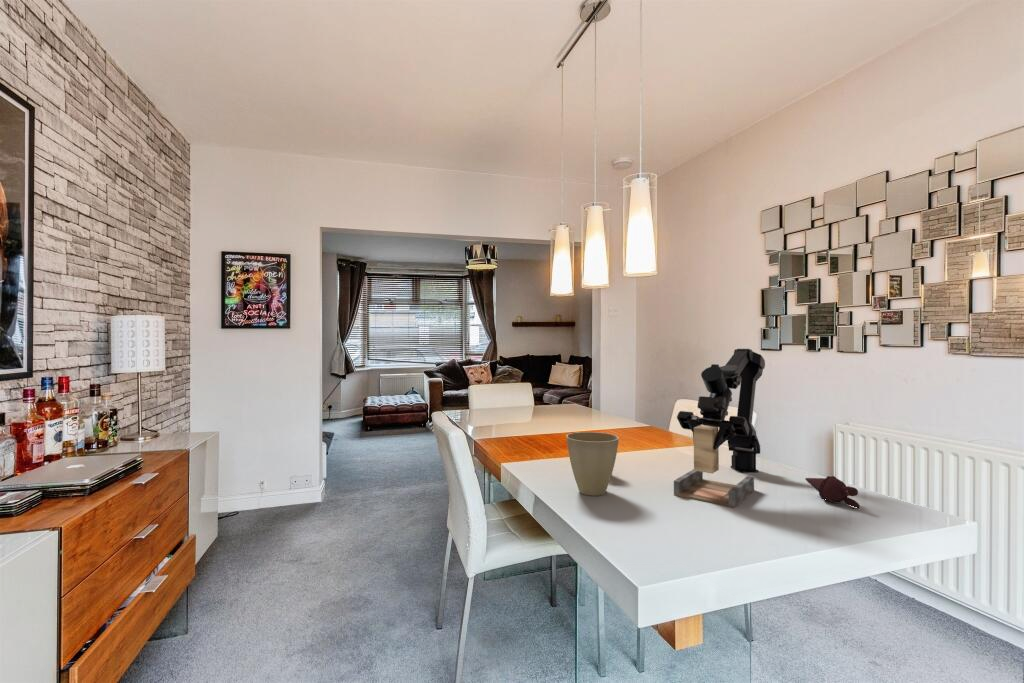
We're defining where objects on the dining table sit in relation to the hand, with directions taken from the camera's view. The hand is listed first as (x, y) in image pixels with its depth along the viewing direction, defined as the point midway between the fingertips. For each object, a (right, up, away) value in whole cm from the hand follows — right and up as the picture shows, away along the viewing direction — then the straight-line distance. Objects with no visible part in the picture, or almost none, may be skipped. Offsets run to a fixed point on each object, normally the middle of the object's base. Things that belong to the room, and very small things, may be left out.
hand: (704, 447), depth 131 cm
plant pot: (-30, -14, +4) cm, 34 cm away
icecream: (+32, -14, -5) cm, 35 cm away
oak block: (+1, -7, +1) cm, 7 cm away
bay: (+4, -13, +3) cm, 14 cm away
